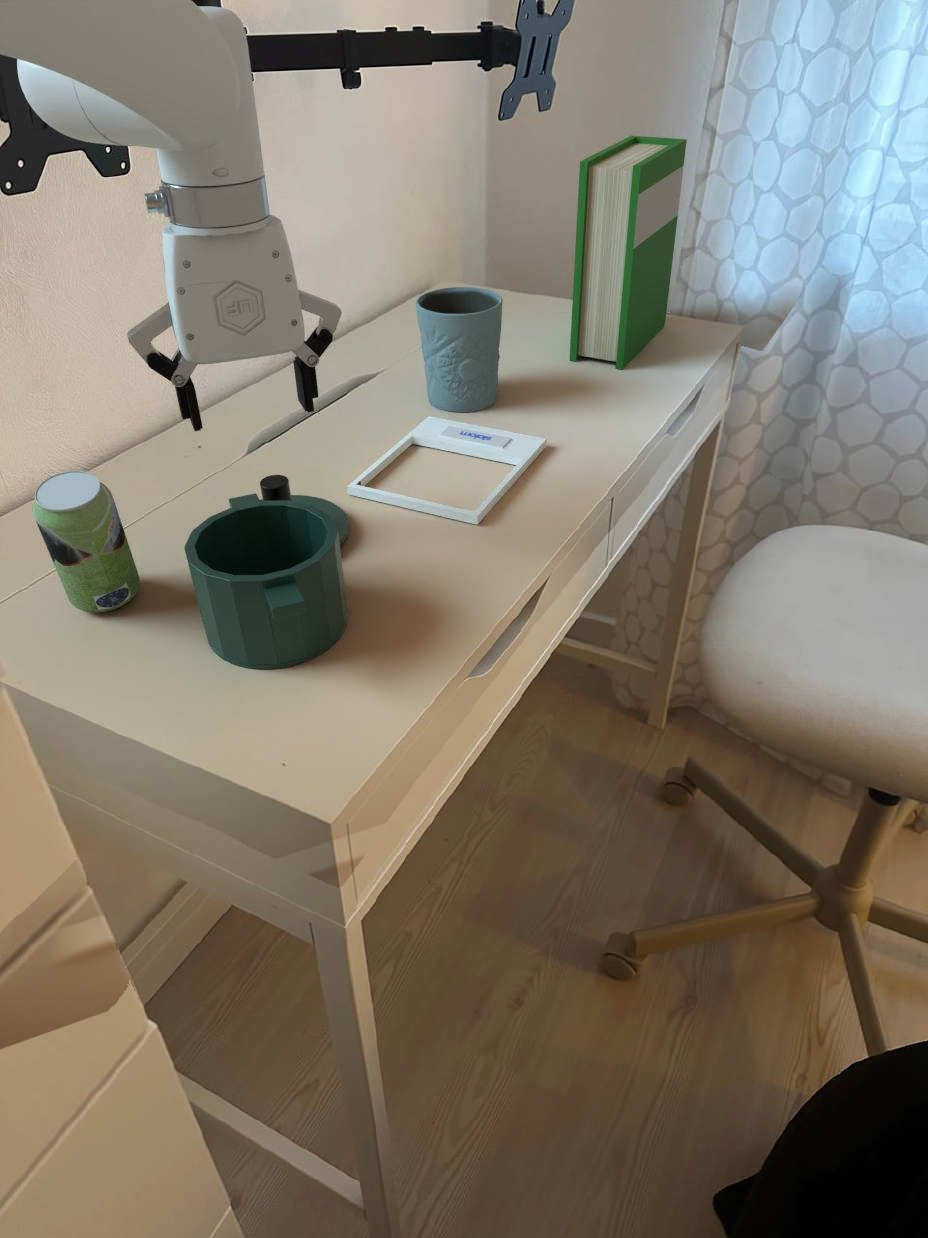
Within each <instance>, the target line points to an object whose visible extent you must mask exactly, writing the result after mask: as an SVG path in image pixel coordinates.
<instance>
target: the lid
mask: <svg viewBox="0 0 928 1238" xmlns="http://www.w3.org/2000/svg"><path fill="white" fill-rule="evenodd" d="M259 486H260V492H261V498H260V499H259V500H260V501H282V500H288V501H294V502H299V503H303V504H308V505H312V506H315V507H316V508H318V509H320V510H321V511H323V512H325V513H327V514H328V515H330V516H331V518H332V520H333V522H334V524H335V525H336V527H337V529H338V535H339V543H340V547H341V546H342V544H344V542H345V541H346V539H347V537H348V534H349V531H350V523H349V517H348V516H347V513H346V512H345V511H344V510H343V508H341V507H340V506H339V505H337V504H336V503H334V502H332V501H331V500H328V499H324V498H321V497H317V496H311V495H302V494H292V493H291V487H290V481H289V478H288V477H287V476H286V475H283V474H271V475H268V476H264V477H263V478H262V479H260V482H259Z"/></svg>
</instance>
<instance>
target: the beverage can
mask: <svg viewBox="0 0 928 1238" xmlns="http://www.w3.org/2000/svg"><path fill="white" fill-rule="evenodd" d="M34 491H35V492H34V501H33V503H32V515H33V517H34V520H35V523H36V525H37V527H38V530H39V532H40V534H41V537H42V539H43V542H44V544H45V547H46V549H47V551H48V554H49V556H50V559H51V560H52V563H53V565H54V568H55V570H56V573H57V576H58V577H59V580H60V582H61V585H62V586H63V589H64V591H65V594H66V597H67V599H68V601H69V603H70V604H71V605H72V606H73V607H75V608H76V609H77V610H80V611H82V612H86V613H105V612H110V611H114V610H116V609H118V608H120V607H122V606H124V605H126V604H128V603H129V602H130V601H131V600H132V599H133V598H134V597H135V596H136V595H137V593H138V591H139V589H140V586H141V578H140V575H139V572H138V569H137V566H136V562H135V559H134V557H133V554H132V550H131V547H130V545H129V541H128V538H127V535H126V532H125V529H124V526H123V523H122V520H121V517H120V513H119V511H118V508H117V504H116V502H115V499H114V495H113V494H112V492H111V489H109V488H108V486H107V485H106V484H104V483H103V482H101V481H100V479H99V478H98V477H97V476H96V475H94V474H93V473H90V472H87V471H83V470H70V471H63V472H59V473H56V474H54V475H51V476H49V477H47V478H45V479H44V480H43V481H42V482H41V483H40V484H39V485H38V486H37V487H36V489H35V490H34Z"/></svg>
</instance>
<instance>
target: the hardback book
mask: <svg viewBox="0 0 928 1238" xmlns="http://www.w3.org/2000/svg"><path fill="white" fill-rule="evenodd" d="M687 142H688V139H687V138H673V137H659V136H658V137H657V136H642V135H630V136H627V137H625V138H624V139H621V140H620V141H617V142H616V143H614V144H612V145H610V146H608V147H606V148H604V149H602V150H600V151H598V152H596V153H594V154H592V155H590V156H587V157H586V158H584V159H582V160H580V161H579V170H578V171H579V173H578V175H579V176H578V192H577V193H578V194H577V209H576V230H575V246H574V247H575V249H574V266H573V284H572V285H573V286H572V287H573V289H572V305H571V322H570V323H571V325H570V342H569V343H570V344H569V361H570V362H577V361H578V360H580V359H581V358H582V357H586V358H587V357H588V358H592V359H597V360H603V361H610V362H615V369H616V370H624V369H625V368H626V367H627V366H628V365H629V364H630V363H631V362H632V360H634V359H635V357H637V355H638V354H639V353H641V351H642V350H644V348H645V347H646V346H647V345H648V344H649V343H650V342H651V341H653V339H654V338H655V337H656V336H657V335H658V334H659V333H660V332H661V331H662V330H663V329H664V328H665V327H666V319H667V312H668V311H667V310H668V302H669V295H670V285H671V279H672V278H671V277H672V268H673V260H674V250H675V243H676V236H677V235H676V233H677V228H678V227H677V226H678V218H679V208H680V200H681V192H682V183H683V174H684V167H685V158H686V151H687V150H686V149H687Z"/></svg>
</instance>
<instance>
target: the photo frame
mask: <svg viewBox="0 0 928 1238" xmlns="http://www.w3.org/2000/svg"><path fill="white" fill-rule="evenodd" d="M412 445H417V446H420V447H421V446H422V447H426V448H431V449H435V450H442V451H447V452H451V453H455V454H461V455H466V456H470V457H475V458H480V459H484V460H490V461H494V462H498V463H504V464H509V465H513V466H514V467H513V468H512V469H511V470H510V471H509V473H508V474H506V476H505V477H504V478H503V479H502V480H501V481H500V483H498V485H496V487H495V488H494V489H493V490H492V491H491V493H489V494H488V496H487V497H485V499H484V500H483V501H482V503H480V505H479V506H478V507H477V508H476V509H475V510H473V511H472V510H468V509H464V508H460V507H455V506H452V505H447V504H443V503H437V502H433V501H429V500H425V499H420V498H416V497H412V496H408V495H405V494H399V493H394V492H391V491H386V490H382V489H377V488H373V487H369V486H367V484H368V483H369V482H371V481H372V480H373V479H374V478H375V477H376V476H377V475H379V474H380V473H381V472H382V471H383V470H384V469H386V467H387V466H389V465H390V464H391V463H393V461H394V460H396V459H397V458H398V457H400V455H401V454H402V453H403V452H405V451H406V450H407V449H408V448H409V447H410V446H412ZM546 447H547V438H545V437H539V436H533V435H529V434H523V433H518V432H513V431H509V430H504V429H503V430H502V429H498V428H492V427H487V426H482V425H476V424H472V423H471V424H470V423H468V422H462V421H455V420H451V419H446V418H441V417H436V416H430V415H428V416H427V417H426V418H425V419H424V420H422V421H421V422H420V423H419V424H418V425H417V426H415V427H414V428H413V429H412V430H411V431H410V432H409V433H407V434H406V435H405V436H403V438H402V439H400V440H399V441H398V442H397V443H395V444H394V445H393V446H392V447H391V448H389V449H388V450H387V451H386V452H385V453H384V454H383V455H381V456H380V457H379V458H378V459H377V460H376V461H375V462H374V463H372V464H371V465H370V466H369V467H367V468H366V469H365V470H364V471H363V472H362V473H360V475H358V476H357V477H356V478H354V480H352V481H351V482H350V483H349V484H348V485H347V486H346V489H347V495H349V496H352V497H353V496H354V497H359V498H363V499H367V500H371V501H375V502H380V503H383V504H387V505H391V506H396V507H399V508H405V509H409V510H413V511H418V512H421V513H426V514H431V515H435V516H439V517H443V518H447V519H451V520H456V521H459V522H464V523H468V524H473V525H476V526H477V525H479V524H480V523H481V521H482V520H483V519H484V518H485V517H486V516H487V514H489V512H490V511H491V510H492V509H493V508H494V506H495V505H496V504H498V502H499V501H500V499H502V498H503V497H504V495H505V494H506V493H507V492H508V491H509V490H510V489H511V488H512V486H513V485H514V484H515V483H516V482H517V481H518V479H519V478H520V477H521V476H522V475H523V474H524V472H525V471H526V470H527V469H528V468H529V467H530V466H531V464H532V463H533V462H534V461H535V460H536V459H537V458H538V457H539V455H540V454H541V453H542V452H543V451H544V450H545V449H546Z"/></svg>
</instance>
